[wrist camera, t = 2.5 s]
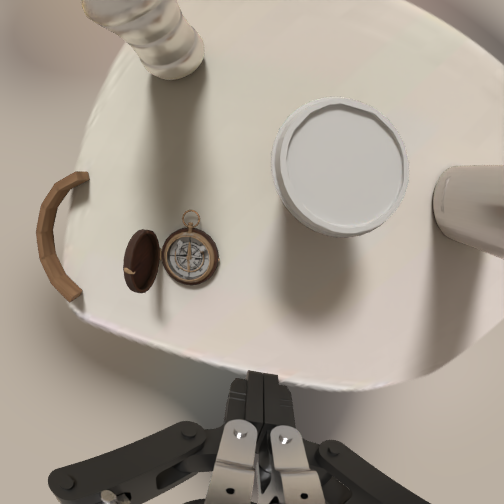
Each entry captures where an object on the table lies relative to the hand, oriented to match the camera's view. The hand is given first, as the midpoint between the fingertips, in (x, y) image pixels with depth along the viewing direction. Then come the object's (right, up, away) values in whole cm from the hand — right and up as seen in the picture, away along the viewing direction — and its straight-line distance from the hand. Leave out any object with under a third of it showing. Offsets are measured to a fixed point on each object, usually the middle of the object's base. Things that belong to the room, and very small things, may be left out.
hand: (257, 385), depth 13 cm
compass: (-7, +7, +17) cm, 20 cm away
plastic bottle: (-8, +28, +12) cm, 31 cm away
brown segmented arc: (-24, +9, +17) cm, 30 cm away
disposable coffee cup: (+6, +15, +15) cm, 22 cm away
